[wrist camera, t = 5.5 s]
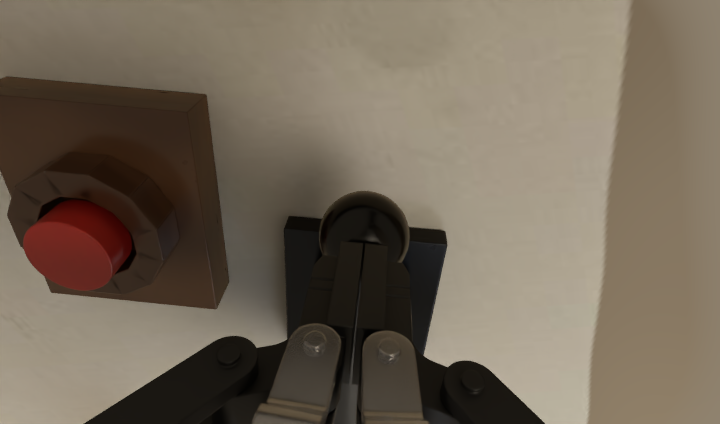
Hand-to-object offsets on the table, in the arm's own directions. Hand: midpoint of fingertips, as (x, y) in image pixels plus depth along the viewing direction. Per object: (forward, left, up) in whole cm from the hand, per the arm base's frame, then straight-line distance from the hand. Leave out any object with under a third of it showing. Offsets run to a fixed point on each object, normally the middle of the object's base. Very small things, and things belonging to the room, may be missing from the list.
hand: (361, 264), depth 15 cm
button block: (+3, -12, -8) cm, 15 cm away
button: (+3, -12, -4) cm, 13 cm away
